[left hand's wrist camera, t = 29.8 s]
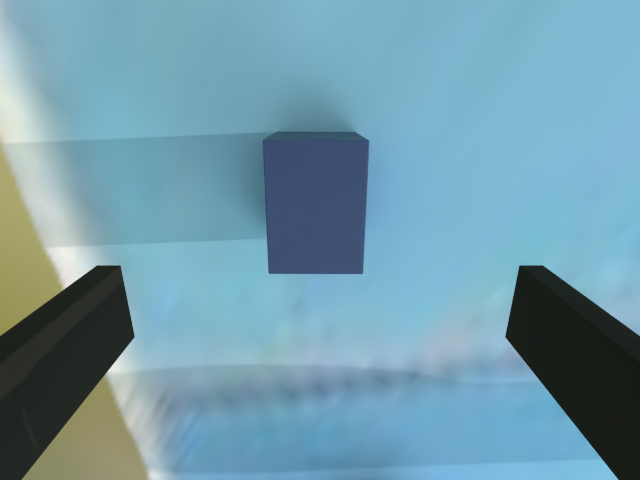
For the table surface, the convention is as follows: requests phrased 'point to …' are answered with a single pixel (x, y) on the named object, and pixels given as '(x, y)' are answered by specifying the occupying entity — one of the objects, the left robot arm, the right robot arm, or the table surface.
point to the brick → (315, 202)
